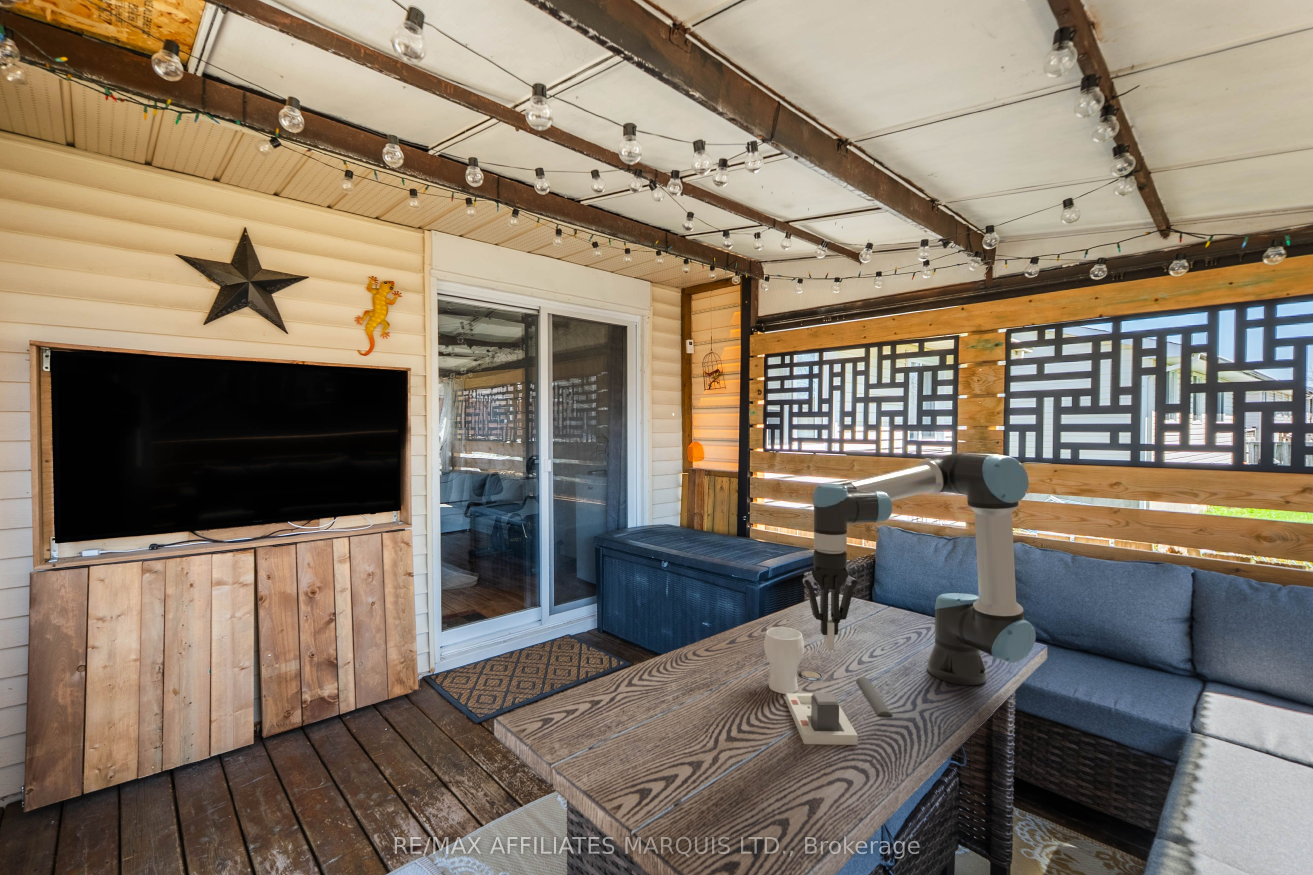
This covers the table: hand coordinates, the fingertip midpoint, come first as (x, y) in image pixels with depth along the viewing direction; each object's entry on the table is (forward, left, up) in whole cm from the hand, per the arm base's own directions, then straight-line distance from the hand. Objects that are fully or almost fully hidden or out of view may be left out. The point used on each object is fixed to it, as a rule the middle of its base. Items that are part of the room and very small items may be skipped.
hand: (829, 647), depth 141 cm
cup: (+7, -20, -19) cm, 28 cm away
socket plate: (+2, -2, -19) cm, 19 cm away
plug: (+2, +3, -18) cm, 19 cm away
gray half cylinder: (-16, -14, -20) cm, 29 cm away
